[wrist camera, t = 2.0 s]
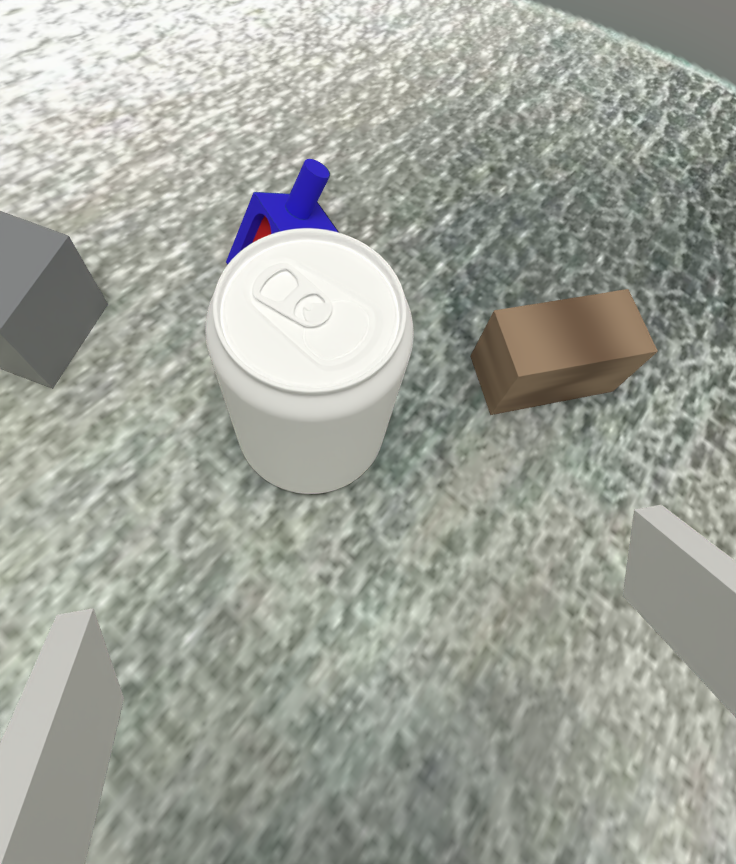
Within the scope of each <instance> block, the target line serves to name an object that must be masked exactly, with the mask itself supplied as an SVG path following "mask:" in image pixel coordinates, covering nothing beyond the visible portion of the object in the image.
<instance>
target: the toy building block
mask: <svg viewBox="0 0 736 864" xmlns="http://www.w3.org/2000/svg"><path fill="white" fill-rule="evenodd" d="M329 177H330V172H329V170H328V169H327V168H326V167H325V166H324V165H323V164H322V163H320V162H318V161H316V160H313V159H306V160H305V162H304V164H303V166H302V168H301V170H300V173H299V175H298V177H297V179H296V181H295V184H294V186H293V188H292V190H291V193H290V194H283V193H264V192H254V193H253V195H252V198H251V200H250V203H249V205H248V208H247V210H246V213H245V215H244V218H243V221H242V223H241V226H240V228H239V231H238V233H237V236H236V238H235V241H234V243H233V246H232V248H231V251H230V253H229V256H228V258H227V261H226V263H227V265H228V264H229V263H230V261H231V260H232V259H233V258H234V257H235V256H236V255H237V254H238V253H239V252H240V251H242V250H243V249H244V248H246V247H247V246H248V245H250V244H252V243H253V242H255V241H257V240H259V239H261V238H263V237H265V236H268V235H271V234H274V233H277V232H281V231H285V230H291V229H302V228H312V229H323V230H329V231H334V232H338V230H337V229H336V228H335V226H334V225H333V223H332V222H331V220H330V219H329V218H328V216H327V215H326V213H325V212H324V211H323V209H322V208H321V206H320V205H319V203H318V202H317V201H318V199H319V197H320V195H321V193H322V191H323V189H324V187H325V185H326V183H327V181H328V179H329ZM338 233H339V232H338Z"/></svg>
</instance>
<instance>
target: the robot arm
mask: <svg viewBox="0 0 736 864" xmlns="http://www.w3.org/2000/svg"><path fill="white" fill-rule="evenodd" d="M623 597H624V598H625V599H626V600H627V601H628V602H629V603H630V604H631V605H632V606H633V608H634V609H635V610H636V611H637V612H638V613H639V614H640V615H641V616H642V617H643V618H644V619H645V620H646V622H647V623H648V624H649V625H650V626H651V627H652V628H653V629H654V630H655V631H656V632H657V633H658V634H659V636H660V637H661V638H662V639H663V640H664V641H665V642H666V643H667V644H668V645H669V646H670V647H671V648H672V649H673V651H674V652H675V653H676V654H677V655H678V656H679V657H680V658H681V659H682V660H683V661H684V662H685V663H686V665H687V666H688V667H689V668H690V669H691V670H692V671H693V672H694V673H695V674H696V675H697V676H698V677H699V679H700V680H701V681H702V682H703V683H704V684H705V685H706V686H707V687H708V688H709V689H710V690H711V691H712V693H713V694H714V695H715V696H716V697H717V698H718V699H719V700H720V701H721V702H722V703H723V704H724V705H725V706H726V708H727V709H728V710H729V711H730V712H731V713H732V714H733V715H734V716H735V717H736V561H735V560H733V559H732V558H731V557H730V556H728V555H727V554H726V553H724V552H723V551H722V550H720V549H719V548H718V547H716V546H715V545H714V544H712V543H711V542H710V541H708V540H707V539H706V538H704V537H703V536H702V535H700V534H699V533H698V532H697V531H695V530H694V529H693V528H691V527H690V526H689V525H687V524H686V523H685V522H683V521H682V520H681V519H679V518H678V517H677V516H675V515H674V514H673V513H671V512H670V511H669V510H667V509H666V508H665V507H664V506H662V505H657V506H652V507H646V508H641V509H635V510H634V515H633V522H632V530H631V537H630V544H629V552H628V559H627V567H626V574H625V582H624V589H623ZM123 701H124V697H123V694H122V691H121V688H120V685H119V682H118V679H117V676H116V673H115V670H114V667H113V665H112V662H111V659H110V656H109V653H108V650H107V647H106V644H105V641H104V638H103V635H102V632H101V629H100V626H99V623H98V620H97V617H96V614H95V612H94V609H93V608H91V609H86V610H80V611H75V612H69V613H64V614H58V615H56V617H55V619H54V622H53V624H52V626H51V628H50V631H49V633H48V635H47V638H46V640H45V642H44V644H43V647H42V649H41V651H40V653H39V656H38V658H37V660H36V663H35V665H34V667H33V669H32V672H31V674H30V676H29V678H28V681H27V683H26V685H25V687H24V690H23V692H22V694H21V697H20V699H19V701H18V703H17V706H16V708H15V710H14V712H13V715H12V717H11V719H10V721H9V724H8V726H7V728H6V731H5V733H4V735H3V737H2V740H1V742H0V864H85V862H86V858H87V854H88V849H89V845H90V841H91V837H92V833H93V828H94V824H95V820H96V816H97V811H98V807H99V803H100V799H101V794H102V790H103V786H104V782H105V777H106V773H107V769H108V765H109V760H110V756H111V752H112V748H113V744H114V739H115V735H116V731H117V727H118V722H119V718H120V714H121V710H122V705H123Z"/></svg>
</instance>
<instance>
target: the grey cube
mask: <svg viewBox="0 0 736 864" xmlns="http://www.w3.org/2000/svg"><path fill="white" fill-rule="evenodd" d="M107 305H108V303H107V302H106V300H105V298H104V296H103V295H102V293H101V291H100V289H99V288H98V286H97V284H96V282H95V281H94V279H93V277H92V275H91V274H90V272H89V270H88V269H87V267H86V265H85V263H84V262H83V260H82V258H81V256H80V255H79V253H78V251H77V249H76V248H75V246H74V244H73V242H72V241H71V239H70V237H69V236H68V235H65V234H62V233H59V232H57V231H54V230H51V229H48V228H46V227H43V226H40V225H37V224H35V223H32V222H29V221H26V220H24V219H21V218H18V217H15V216H13V215H10V214H7V213H4V212H2V211H0V369H2V370H5V371H7V372H10V373H13V374H15V375H18V376H21V377H23V378H26V379H29V380H31V381H34V382H36V383H39V384H42V385H44V386H47V387H50V388H52V389H53V387H54V386H55V384H56V383H57V381H58V380H59V378H60V377H61V375H62V374H63V372H64V371H65V369H66V368H67V366H68V365H69V363H70V362H71V360H72V359H73V357H74V355H75V354H76V352H77V351H78V349H79V348H80V346H81V345H82V343H83V342H84V340H85V339H86V337H87V336H88V334H89V333H90V331H91V330H92V328H93V327H94V325H95V324H96V322H97V321H98V319H99V317H100V316H101V314H102V313H103V311H104V310H105V308H106V307H107Z"/></svg>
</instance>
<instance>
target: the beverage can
mask: <svg viewBox="0 0 736 864" xmlns="http://www.w3.org/2000/svg"><path fill="white" fill-rule="evenodd" d="M206 343H207V348H208V352H209V355H210V358H211V361H212V364H213V367H214V370H215V373H216V376H217V379H218V382H219V385H220V388H221V391H222V394H223V397H224V400H225V403H226V406H227V409H228V412H229V415H230V418H231V421H232V424H233V427H234V430H235V433H236V436H237V439H238V442H239V445H240V448H241V450H242V452H243V454H244V456H245V458H246V460H247V461H248V463H249V464H250V466H251V467H252V468H253V469H254V470H255V471H256V472H257V473H258V474H259V475H260V476H261V477H262V478H264V479H265V480H267V481H268V482H270V483H271V484H273V485H275V486H277V487H279V488H282V489H284V490H288V491H291V492H296V493H303V494H318V493H325V492H330V491H334V490H337V489H339V488H342V487H344V486H346V485H348V484H350V483H351V482H353V481H355V480H356V479H357V478H359V477H360V476H361V475H362V474H363V473H364V472H365V471H366V470H367V469H368V468H369V467H370V466H371V464H372V463H373V461H374V460H375V458H376V456H377V455H378V452H379V450H380V448H381V445H382V442H383V439H384V436H385V433H386V430H387V426H388V423H389V420H390V417H391V414H392V411H393V408H394V405H395V402H396V399H397V395H398V392H399V389H400V386H401V383H402V380H403V377H404V374H405V371H406V368H407V364H408V361H409V358H410V355H411V350H412V345H413V322H412V316H411V312H410V308H409V305H408V302H407V300H406V298H405V296H404V292H403V289H402V286H401V284H400V282H399V280H398V278H397V276H396V274H395V273H394V271H393V270H392V268H391V267H390V266H389V264H388V263H387V262H386V261H385V260H384V259H383V258H382V257H381V256H380V255H379V254H378V253H377V252H375V251H374V250H373V249H371V248H370V247H369V246H367V245H365V244H364V243H362V242H360V241H358V240H356V239H354V238H352V237H350V236H347V235H344V234H341V233H338V232H334V231H329V230H323V229H312V228H302V229H291V230H285V231H281V232H277V233H274V234H271V235H268V236H265V237H263V238H261V239H259V240H257V241H255V242H253V243H252V244H250V245H248V246H247V247H246V248H244V249H243V250H242V251H240V252H239V253H238V254H237V255H236V256H235V257H234V258H233V259H232V260H231V261H230V263H229V264H228V265H227V267H226V268H225V269H224V271H223V273H222V274H221V276H220V278H219V281H218V283H217V286H216V289H215V292H214V294H213V296H212V299H211V301H210V304H209V308H208V312H207V317H206Z"/></svg>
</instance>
